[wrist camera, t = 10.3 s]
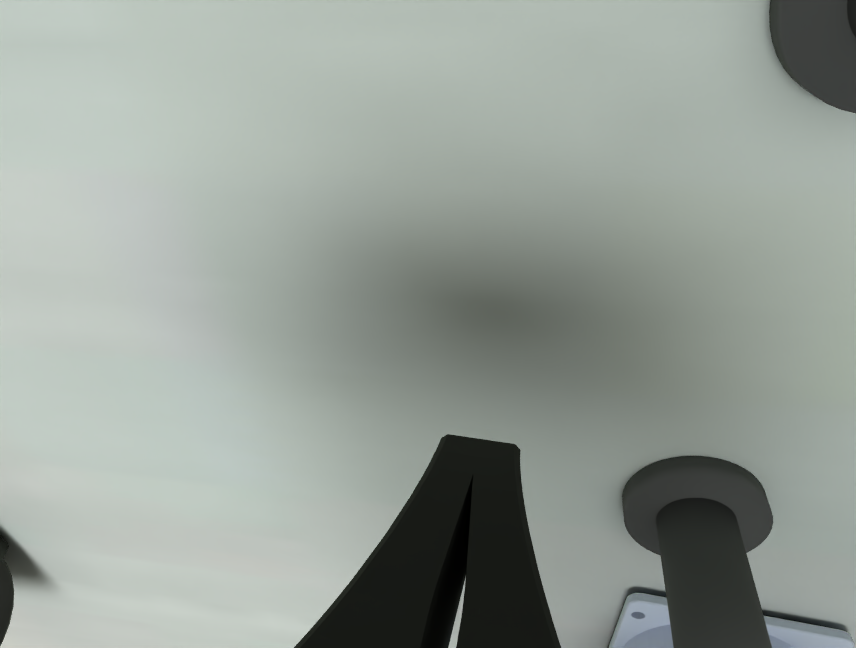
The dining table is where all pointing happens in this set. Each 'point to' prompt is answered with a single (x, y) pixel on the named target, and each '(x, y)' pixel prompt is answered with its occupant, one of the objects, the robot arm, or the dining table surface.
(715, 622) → the gray flanged cylinder
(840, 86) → the dark flanged peg
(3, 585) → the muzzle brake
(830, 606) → the dining table surface
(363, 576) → the robot arm
